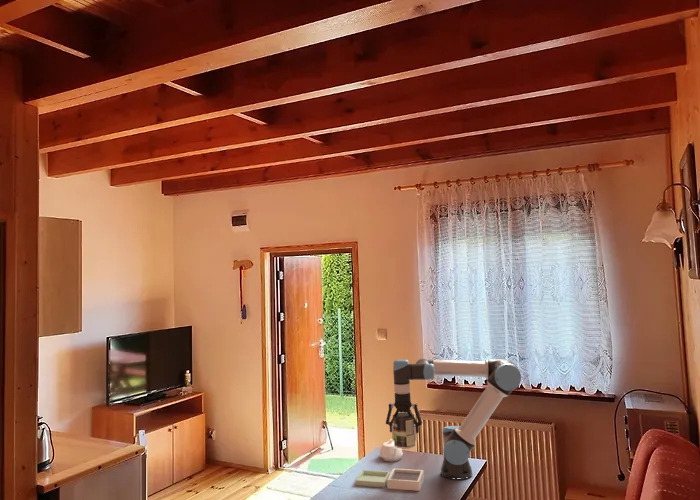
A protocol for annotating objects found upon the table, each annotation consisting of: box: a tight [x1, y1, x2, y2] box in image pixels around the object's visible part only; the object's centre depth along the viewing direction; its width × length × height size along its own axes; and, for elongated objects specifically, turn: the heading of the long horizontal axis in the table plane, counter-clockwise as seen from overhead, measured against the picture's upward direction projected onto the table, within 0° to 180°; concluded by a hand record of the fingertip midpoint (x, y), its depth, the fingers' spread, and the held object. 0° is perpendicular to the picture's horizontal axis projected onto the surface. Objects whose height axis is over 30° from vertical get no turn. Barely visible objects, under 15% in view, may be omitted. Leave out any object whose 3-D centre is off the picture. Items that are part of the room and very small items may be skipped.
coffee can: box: [392, 412, 416, 450], centre depth 253 cm, size 10×10×14 cm
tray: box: [355, 469, 391, 489], centre depth 256 cm, size 14×14×2 cm
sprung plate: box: [392, 472, 420, 481], centre depth 252 cm, size 12×12×1 cm
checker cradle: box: [386, 468, 425, 492], centre depth 251 cm, size 15×15×4 cm
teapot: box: [379, 438, 404, 462], centre depth 287 cm, size 20×12×10 cm, turn 10°
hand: (404, 439), depth 253 cm, fingers closed on coffee can, 10 cm apart
